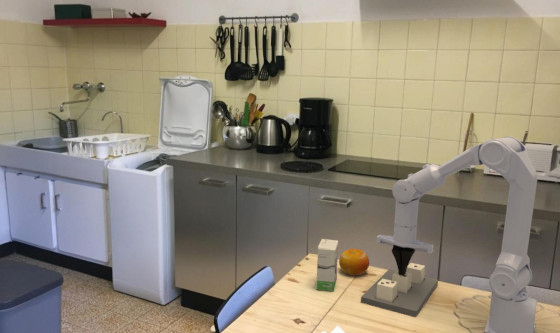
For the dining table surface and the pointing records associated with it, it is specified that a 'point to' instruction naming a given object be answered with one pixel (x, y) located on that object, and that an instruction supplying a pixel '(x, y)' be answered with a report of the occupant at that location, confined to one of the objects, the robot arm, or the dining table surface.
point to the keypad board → (402, 296)
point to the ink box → (327, 264)
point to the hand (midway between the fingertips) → (402, 273)
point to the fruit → (354, 261)
